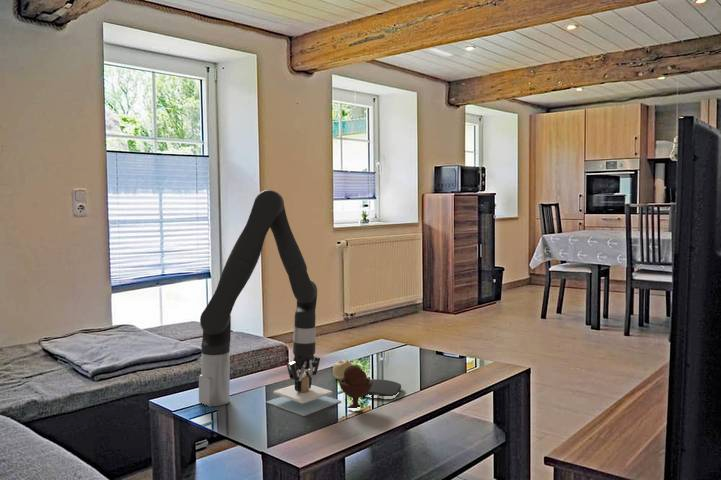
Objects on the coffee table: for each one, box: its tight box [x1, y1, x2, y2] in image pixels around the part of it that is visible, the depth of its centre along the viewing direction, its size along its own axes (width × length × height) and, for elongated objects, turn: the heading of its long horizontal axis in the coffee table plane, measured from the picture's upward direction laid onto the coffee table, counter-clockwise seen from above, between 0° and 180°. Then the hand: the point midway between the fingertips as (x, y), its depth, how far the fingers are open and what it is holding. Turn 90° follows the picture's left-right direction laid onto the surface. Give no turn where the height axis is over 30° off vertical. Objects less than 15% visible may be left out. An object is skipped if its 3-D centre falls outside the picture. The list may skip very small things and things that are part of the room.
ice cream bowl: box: [338, 364, 373, 408], centre depth 200 cm, size 11×11×15 cm
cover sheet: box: [272, 374, 333, 404], centre depth 206 cm, size 14×14×6 cm
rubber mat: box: [265, 395, 342, 417], centre depth 206 cm, size 18×18×1 cm
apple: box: [332, 359, 353, 381], centre depth 233 cm, size 8×8×8 cm
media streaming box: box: [364, 378, 402, 396], centre depth 219 cm, size 15×15×3 cm
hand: (303, 389), depth 206 cm, fingers closed on cover sheet, 4 cm apart
